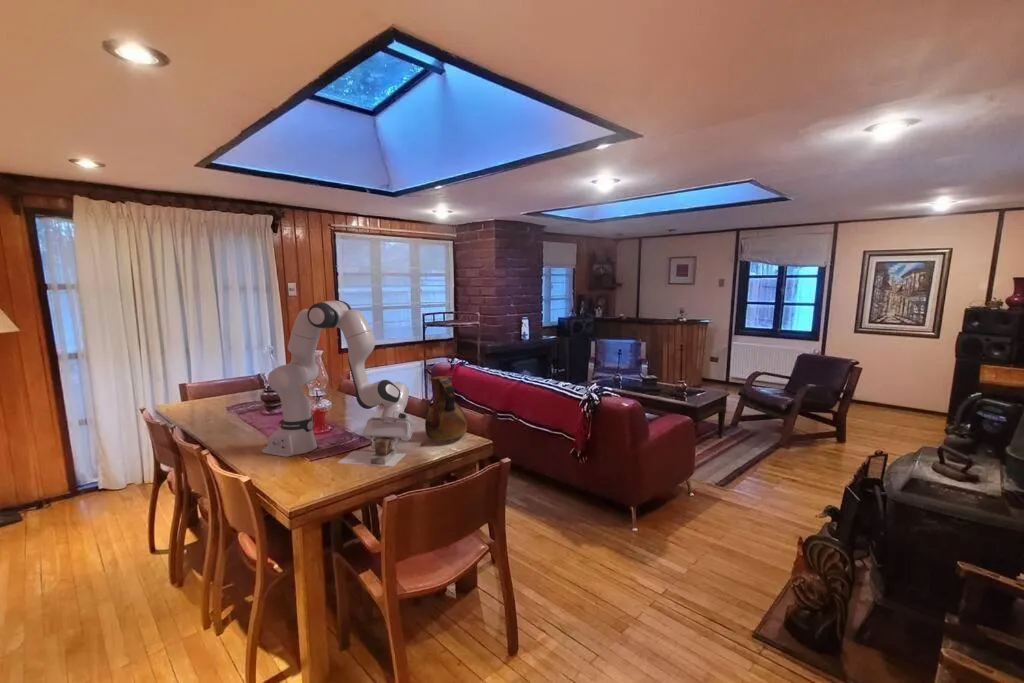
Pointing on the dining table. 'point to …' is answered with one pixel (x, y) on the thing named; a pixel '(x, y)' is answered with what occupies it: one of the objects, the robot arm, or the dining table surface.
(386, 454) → the sanding block
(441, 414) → the ceramic pitcher
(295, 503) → the dining table surface
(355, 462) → the board
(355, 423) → the dining table surface
